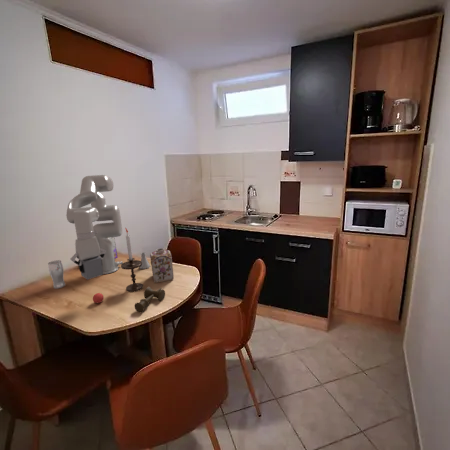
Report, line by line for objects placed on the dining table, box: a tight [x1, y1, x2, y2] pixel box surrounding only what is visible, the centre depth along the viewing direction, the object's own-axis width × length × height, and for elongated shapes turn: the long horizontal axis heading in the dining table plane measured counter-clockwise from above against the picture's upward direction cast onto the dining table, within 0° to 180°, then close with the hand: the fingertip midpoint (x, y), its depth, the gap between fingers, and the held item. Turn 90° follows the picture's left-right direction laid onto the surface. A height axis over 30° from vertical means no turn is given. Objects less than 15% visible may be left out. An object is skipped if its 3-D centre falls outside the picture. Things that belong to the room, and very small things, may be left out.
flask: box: [138, 252, 151, 270], centre depth 182 cm, size 7×7×10 cm
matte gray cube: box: [80, 257, 104, 281], centre depth 136 cm, size 8×8×9 cm
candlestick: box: [120, 227, 144, 293], centre depth 149 cm, size 11×11×35 cm
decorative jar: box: [149, 247, 175, 284], centre depth 163 cm, size 12×12×18 cm
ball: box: [92, 292, 105, 304], centre depth 138 cm, size 5×5×5 cm
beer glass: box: [47, 259, 66, 290], centre depth 158 cm, size 7×7×15 cm
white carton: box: [108, 237, 119, 260], centre depth 197 cm, size 14×6×16 cm, turn 145°
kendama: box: [134, 286, 166, 313], centre depth 137 cm, size 6×10×20 cm
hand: (91, 269), depth 136 cm, fingers closed on matte gray cube, 7 cm apart
